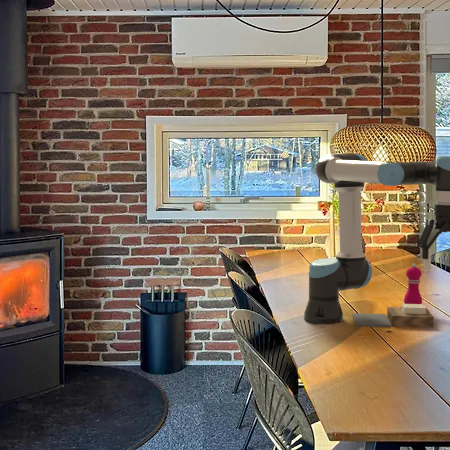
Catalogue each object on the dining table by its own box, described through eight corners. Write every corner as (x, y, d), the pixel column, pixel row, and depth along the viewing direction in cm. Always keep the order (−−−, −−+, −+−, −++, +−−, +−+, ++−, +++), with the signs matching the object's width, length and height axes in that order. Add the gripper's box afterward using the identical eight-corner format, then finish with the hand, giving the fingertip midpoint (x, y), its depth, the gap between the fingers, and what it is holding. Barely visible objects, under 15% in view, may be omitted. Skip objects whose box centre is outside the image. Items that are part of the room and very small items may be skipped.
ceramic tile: (404, 313, 228) (404, 307, 228) (401, 309, 233) (401, 303, 233) (425, 314, 227) (426, 307, 227) (422, 310, 232) (423, 304, 232)
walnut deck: (392, 326, 225) (392, 315, 225) (387, 316, 238) (387, 307, 238) (433, 327, 223) (433, 316, 223) (426, 317, 236) (426, 307, 236)
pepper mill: (424, 313, 242) (425, 265, 240) (406, 313, 242) (407, 265, 240) (418, 309, 249) (420, 261, 247) (401, 309, 250) (402, 261, 247)
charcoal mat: (355, 326, 226) (355, 323, 226) (352, 315, 241) (352, 313, 241) (391, 326, 224) (391, 324, 224) (385, 316, 239) (385, 314, 239)
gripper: (421, 206, 188) (419, 272, 191) (486, 203, 196) (483, 266, 199) (407, 203, 196) (405, 267, 198) (470, 201, 203) (467, 262, 206)
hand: (444, 267), depth 199 cm, fingers open, 13 cm apart
